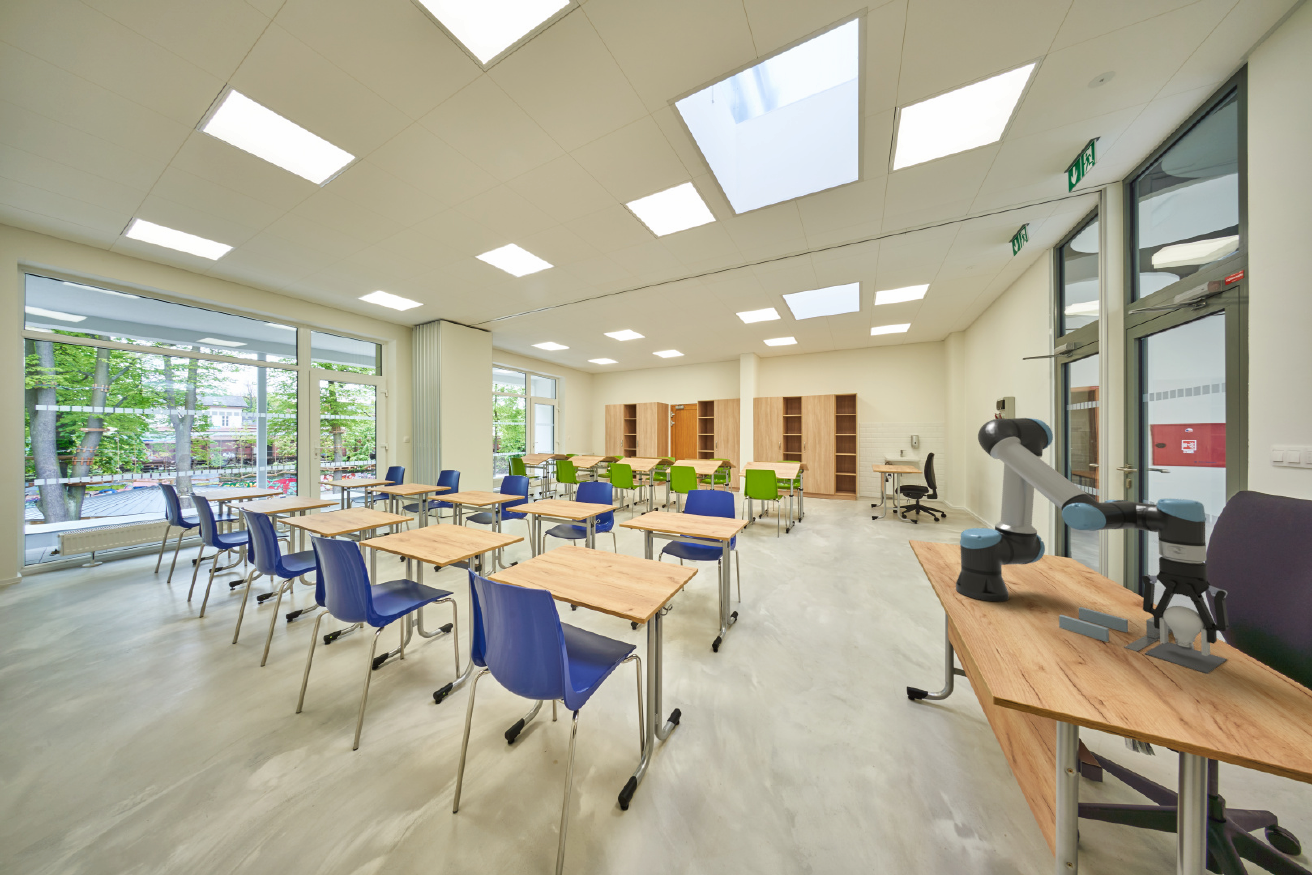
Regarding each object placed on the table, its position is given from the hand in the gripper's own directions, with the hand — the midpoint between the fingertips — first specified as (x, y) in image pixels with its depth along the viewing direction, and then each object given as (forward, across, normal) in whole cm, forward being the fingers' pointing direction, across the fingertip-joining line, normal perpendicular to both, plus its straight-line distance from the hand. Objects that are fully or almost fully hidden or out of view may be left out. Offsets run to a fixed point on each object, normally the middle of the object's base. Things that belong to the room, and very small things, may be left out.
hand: (1184, 647), depth 104 cm
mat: (+2, 0, 0) cm, 2 cm away
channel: (+2, -17, 0) cm, 17 cm away
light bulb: (+1, 0, 0) cm, 1 cm away
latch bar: (+2, -7, +13) cm, 15 cm away
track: (+2, -7, +7) cm, 10 cm away
